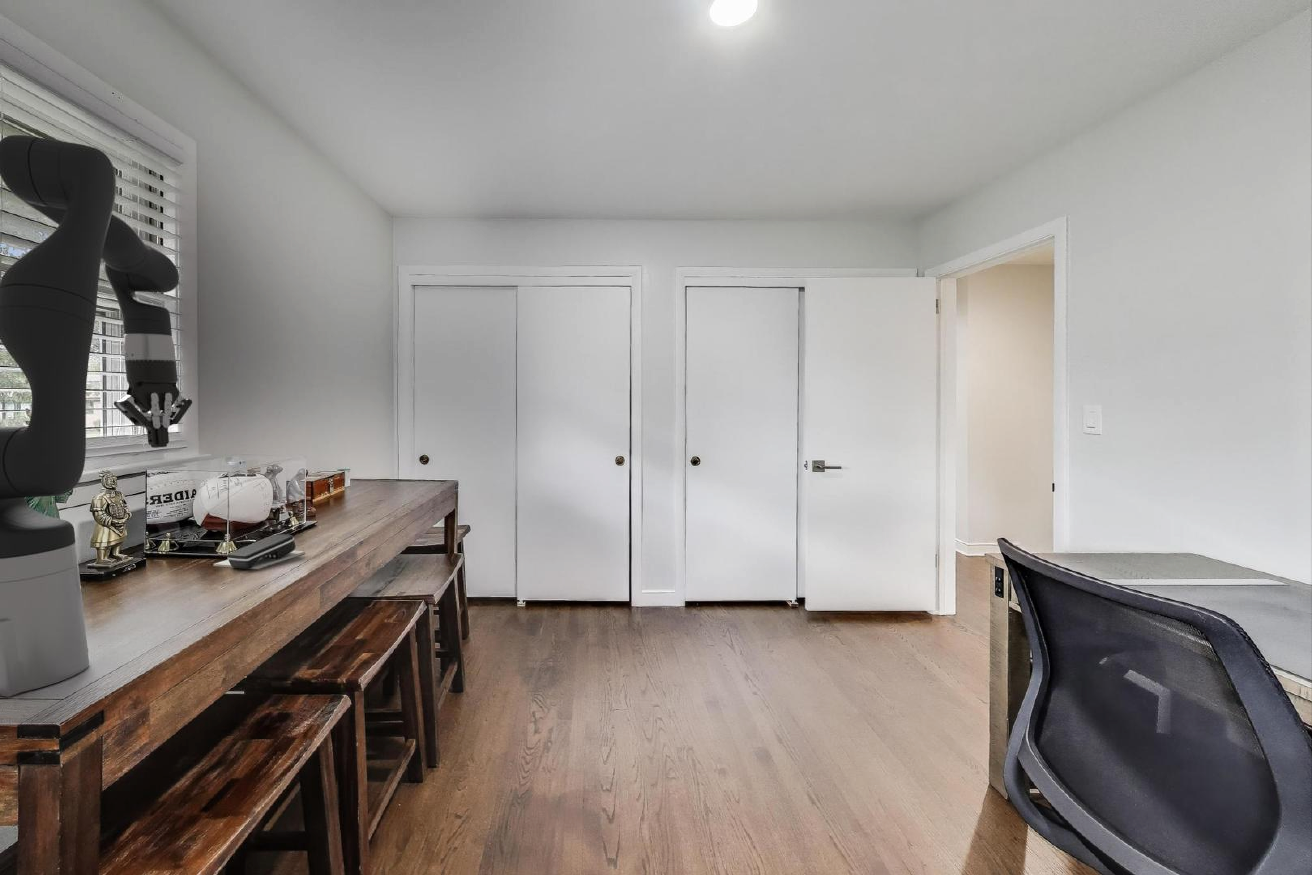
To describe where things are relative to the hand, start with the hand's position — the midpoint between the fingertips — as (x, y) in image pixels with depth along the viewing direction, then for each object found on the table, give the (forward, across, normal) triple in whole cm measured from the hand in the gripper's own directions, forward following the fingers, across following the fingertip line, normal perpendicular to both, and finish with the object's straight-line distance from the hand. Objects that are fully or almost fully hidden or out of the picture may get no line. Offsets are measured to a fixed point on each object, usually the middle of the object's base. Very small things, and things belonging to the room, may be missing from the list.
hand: (159, 447), depth 112 cm
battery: (+26, +8, -7) cm, 28 cm away
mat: (+27, +15, -5) cm, 31 cm away
